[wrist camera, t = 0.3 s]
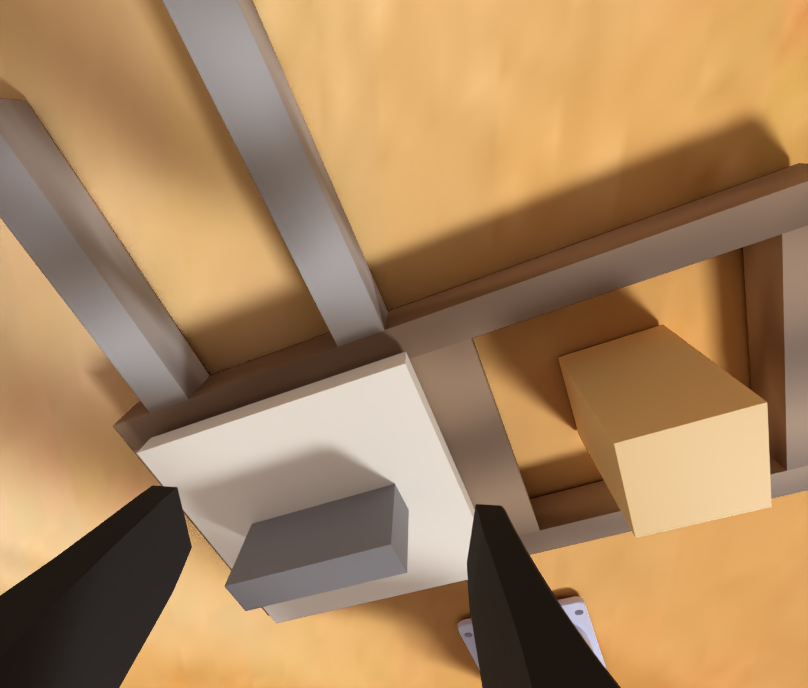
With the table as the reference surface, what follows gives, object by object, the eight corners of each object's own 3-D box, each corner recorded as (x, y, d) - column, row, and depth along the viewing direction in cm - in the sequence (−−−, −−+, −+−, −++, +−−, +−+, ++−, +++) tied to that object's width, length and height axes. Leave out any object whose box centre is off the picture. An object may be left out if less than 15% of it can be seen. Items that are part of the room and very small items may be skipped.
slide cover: (493, 554, 21) (509, 639, 17) (281, 604, 23) (256, 689, 20) (406, 351, 16) (402, 410, 13) (150, 438, 19) (85, 509, 15)
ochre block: (675, 407, 20) (771, 506, 14) (578, 434, 21) (635, 538, 15) (662, 324, 18) (767, 402, 13) (557, 357, 19) (613, 443, 14)
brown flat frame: (799, 453, 21) (836, 483, 19) (278, 582, 26) (268, 615, 24) (797, -324, 11) (875, -420, 9) (-56, 146, 16) (-117, 146, 14)
